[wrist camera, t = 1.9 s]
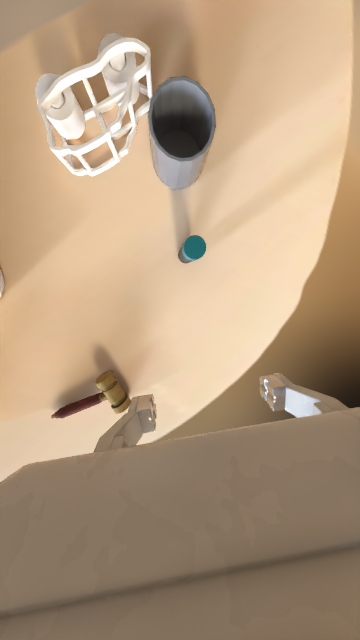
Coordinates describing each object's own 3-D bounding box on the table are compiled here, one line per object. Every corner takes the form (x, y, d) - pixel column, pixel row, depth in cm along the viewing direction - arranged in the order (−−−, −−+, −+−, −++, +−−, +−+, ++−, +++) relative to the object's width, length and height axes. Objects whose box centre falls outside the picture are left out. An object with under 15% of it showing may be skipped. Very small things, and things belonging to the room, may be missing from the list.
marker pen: (176, 261, 40) (181, 256, 28) (180, 245, 39) (187, 232, 27) (191, 265, 40) (202, 262, 28) (195, 249, 40) (208, 238, 28)
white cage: (138, 63, 31) (130, 1, 24) (168, 133, 34) (169, 96, 27) (42, 122, 32) (7, 79, 25) (80, 186, 35) (58, 163, 28)
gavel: (57, 438, 45) (33, 409, 43) (67, 423, 50) (46, 396, 47) (128, 410, 44) (108, 378, 41) (133, 397, 48) (114, 368, 45)
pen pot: (147, 180, 35) (142, 148, 26) (158, 121, 33) (156, 63, 24) (194, 196, 37) (204, 170, 28) (208, 140, 35) (223, 93, 25)
